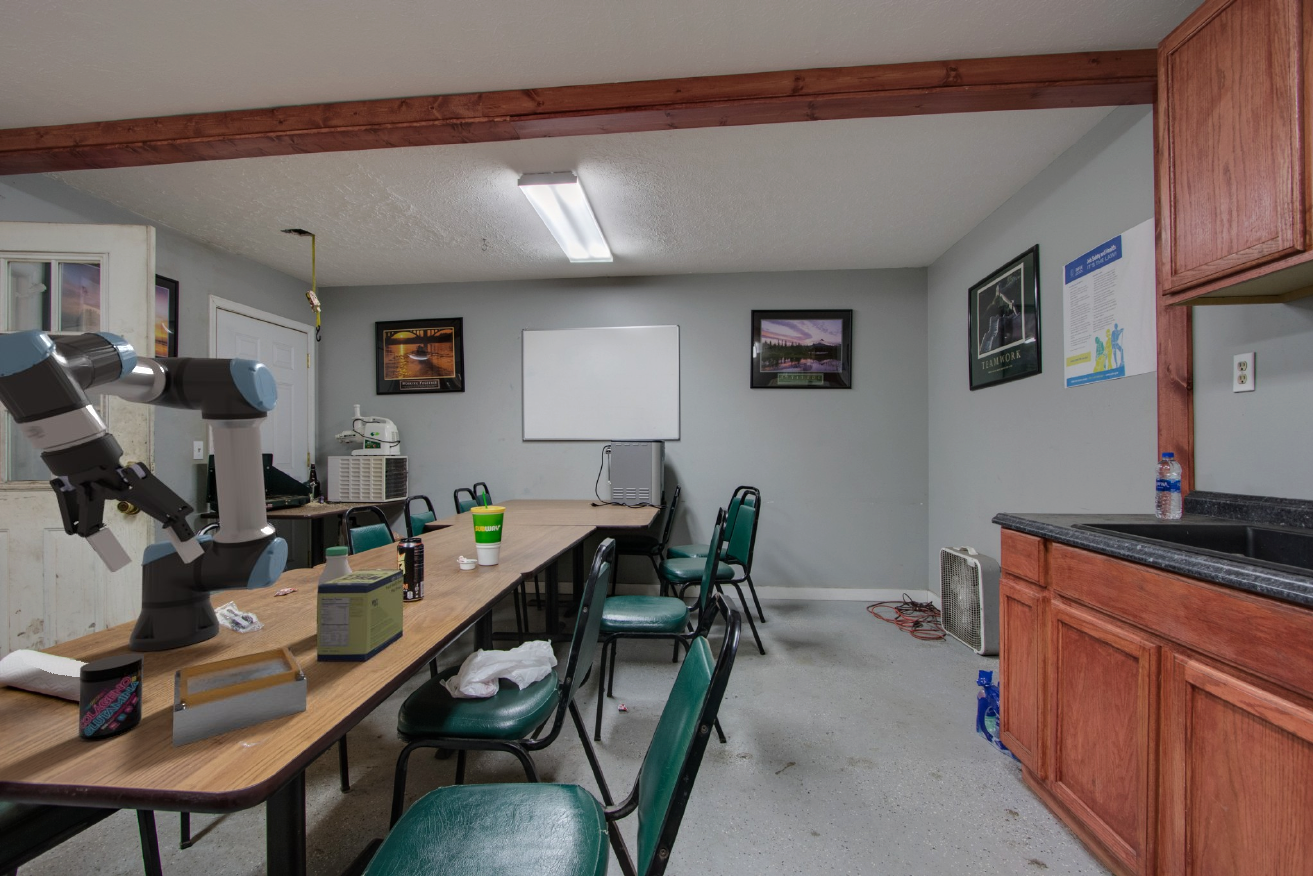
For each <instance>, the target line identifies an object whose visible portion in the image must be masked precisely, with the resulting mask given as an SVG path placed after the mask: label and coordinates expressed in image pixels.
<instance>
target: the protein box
mask: <svg viewBox="0 0 1313 876" xmlns="http://www.w3.org/2000/svg"><path fill="white" fill-rule="evenodd" d="M317 591H318V628H317V627H316V635H317V636H316V639H317V643H316V661H317V662H367V661H368V660H369V659H371V658H373V657H374V656H375V655H378V654H379V653H380V652H382V651H383V650H384V649H386V648H387V647H389V646H390V645H392V644H393V643H395V642H396V641H398V640H399V639H400V638H402V637H403V636H404V635H403V634H404V633H403V631H404V630H403V629H404V569H403V568H402V569H398V568H397V569H358V570H356V571H352V573H350V574H348V575H345V576H342V577H340V578H337V579H334V580H332V581H329V582H326V583H323V584H321V585H319V586H318V585H317Z"/></svg>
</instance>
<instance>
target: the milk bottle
mask: <svg viewBox="0 0 1313 876" xmlns="http://www.w3.org/2000/svg"><path fill="white" fill-rule="evenodd" d="M348 556H349V547H348V546H332V547H328V548H326V549H325V559H326V562H325V566H324V568H323V571H322V572H321V574H320V577H319V579H318V583H317V587H318V586H319V585H321V584H323V583H326V582H329V581H332V580H334V579H337V578H340V577H342V576H345V575H348V574H350V573H353V571H352V569H351V567H350V565H349V562H348ZM316 594H317V595H316V596H317V597H316V629H317V628H318V590H317V591H316Z"/></svg>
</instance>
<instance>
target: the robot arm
mask: <svg viewBox="0 0 1313 876" xmlns="http://www.w3.org/2000/svg"><path fill="white" fill-rule="evenodd" d="M277 387H278V386H277V384H276V380H275V378H274V375H273V374H272V372H271V371H270V369H269V368H268V367H267V366H266V365H265V364H264V363H262V362H260V361H259V360H253V359H246V358H238V357H237V358H220V357H219V358H215V357H213V358H212V357H188V356H187V357H185V356H183V357H182V356H181V357H179V356H177V357H146V356H140V355H137V352H136V350H135V347H133V346H132V344H131V343H130V342H129V341H128V340H126V339H125V338H123V337H122V336H119V335H118V334H114V333H112V332H108V331H98V332H97V331H96V332H90V331H89V332H88V331H87V332H84V333H81V334H76V335H73V334H72V335H71V334H67V335H66V334H51V333H50V334H48V333H46V332H45V331H43V330H41V329H38V328H35V329H34V328H32V329H27V330H22V331H21V330H20V331H17V332H10V333H7V332H0V402H1V403H2V405H3V406H4V408H5V409H6V410H7V411H8V413H9V414H10V415H11V417H12V418H13V419H12V420H13V421H15V423H16V424H17V425H18V426H19V428H20V429H21V431H22V432H23V433H22V434H23V436H24V437H25V438H27V439H28V441H29V442H30V443H31V445H32V446H33V448H34V449H35V450H41V451H42V450H43V451H42V452H41V454H40V455H39V457H40V458H41V459H42V461H43V462H44V463H45V465H46V466H47V468H48V469H49V471H50V472H51V473H52V475H53V476H55V478H52V479H51V480H49V481H48V482H49V485H50V487H51V489H52V490H53V491H54V493H55V494H56V495H55V496H56V500H57V504H58V508H59V512H60V516H61V520H62V524H63V528H64V532H65V534H66V535H68V536H74V535H78V537H81V538H85V540H86V541H87V543H88V544H89V546H90V547H91V548H92V549H93V551H95V552H96V554H97V555H98V557H99V558H100V559H101V560H102V562H103V563H104V564H105V566H106V567H107V569H108V570H109V571H110V572H111V573H116V572H117V571H119V570H120V569H122V568H123V567H126V566H127V565H129V564H130V563H132V562H133V560H132V558H131V557H130V556H129V554H128V552H127V551H126V550H125V549H124V547H123V546H122V544H121V543H120V541H119V540H118V539H117V537H116V536H115V535H114V532H113V531H112V530H111V529H110V527H106V526H107V525H108V524H107V523H105V522H103V519H104V512H105V504H106V500H107V501H113V500H116V501H118V502H121V503H124V502H125V503H128V504H129V505H131V506H133V507H134V508H136V509H138V510H139V511H141V512H143V513H145V514H147V515H148V516H150V517H151V518H153V519H155V520H157V521H159V522H160V523H161V524H162V527H161V529H162V531H163V533H164V534H165V535H166V537H167V539H168V540H163V541H158V542H153V543H151V544H149V545H147V546H146V547H145V548H144V550H143V556H142V563H141V607H140V608H141V609H140V613H139V616H138V618H137V619H136V622H135V624H134V627H133V629H132V630H131V633H130V636H129V638H128V640H129V642H128V648H129V650H131V651H136V652H153V651H163V650H169V649H175V648H179V647H180V648H181V647H185V646H190V645H192V644H196V643H199V642H200V643H201V642H203V641H206V640H209V639H211V638H213V637H215V636H216V635H218V634H219V633H220V621H219V619H218V617H217V614H216V612H215V610H214V607H213V604H212V602H211V592H226V591H247V590H248V591H253V590H256V589H263V588H264V589H267V588H270V587H271V586H273V585H274V584H276V583H277V582H278V580H279V578H280V577H281V575H282V574H283V571H284V569H285V566H286V563H287V559H288V554H289V550H288V549H289V548H288V547H289V546H288V543H287V541H286V539H284V538H283V537H277V536H276V528H275V527H274V526H272V525H271V524H268V522H267V506H266V490H265V477H264V465H263V449H262V436H261V424H263V423H264V422H265V421H266V420H267V419H268V412H269V411H272V410H274V409H275V407H276V405H277V400H278V388H277ZM87 394H94V395H106V396H113V397H114V396H115V397H118V398H120V399H121V400H123V401H126V402H128V403H129V402H130V403H137V404H145V405H151V406H158V407H164V408H169V409H170V408H171V409H179V410H185V411H186V410H190V411H200V412H201V413H200V414H201V420H202V421H203V422H205V423H206V424H208V425H209V426H210V427H211V433H212V443H213V455H214V456H213V458H214V467H215V468H214V469H215V480H216V493H217V503H218V504H217V505H218V506H217V507H218V514H219V515H218V516H219V527H220V528H219V530H218V531H217V532H216V533H215V534H214V535H213V536H212V534H200V535H199V534H198V535H195V532H194V531H193V529H192V527H191V526H190V525H189V523H188V520H186V517H187V516H189V515H191V514H193V512H195V508H194V507H193V506H192V505H190V504H189V503H188V502H187V501H186V500H184V499H183V498H182V497H181V496H179V495H178V493H176V492H175V491H174V490H172V489H171V488H170V487H169V486H167V484H165V483H164V482H163V481H162V480H160V479H159V478H158V477H156V476H155V475H154V474H153V473H152V471H151V470H150V469H149V468H148V467H147V465H146V463H144V462H143V461H138V462H135V463H133V464H131V465H129V466H125V465H124V464H122V462H121V461H120V458H121V457H122V456H123V455H124V450H123V449H122V447H121V445H120V444H119V443H118V441H117V439H116V438H115V436H114V435H113V433H110V432H105V431H107V429H108V427H109V426H108V424H107V423H106V421H105V420H104V418H103V417H102V415H101V413H99V411H98V409H97V408H96V407H95V405H94V404H93V403H92V401H91V400H90V398H89V397H88V395H87ZM104 527H105V528H104ZM208 638H209V639H208ZM184 645H185V646H184Z"/></svg>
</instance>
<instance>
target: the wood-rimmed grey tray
mask: <svg viewBox="0 0 1313 876" xmlns="http://www.w3.org/2000/svg"><path fill="white" fill-rule="evenodd" d="M307 683H308V680H307V677H306V673H304V671H302V669H301V666H300V665H299V663H298V662H297V660H296V658H295V656H294V655H293V653H292V651H291V647H288V646H285V647H284V646H283V647H279V648H276V649H270V650H269V649H268V650H264V651H259V652H255V653H249V654H245V655H241V656H236V657H231V658H227V659H226V658H225V659H221V660H218V661H217V660H216V661H212V662H208V663H202V664H198V665H193V666H188V667H187V666H186V667H183V668H180V669H178V670H176V671H175V674H174V684H173V685H174V688H173V689H174V691H173V724H172V725H173V726H172V748H177V747H181V746H184V745H187V744H191V743H194V742H198V741H202V740H205V739H210V738H212V737H216V736H220V735H223V734H226V733H230V732H234V731H237V730H241V729H245V728H248V727H252V726H256V725H259V724H262V723H266V722H269V720H270V721H273V720H276V719H280V718H283V717H287V716H290V715H294V714H297V713H301V711H302V712H305V711H307V693H308V691H307V689H308V686H307Z"/></svg>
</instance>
